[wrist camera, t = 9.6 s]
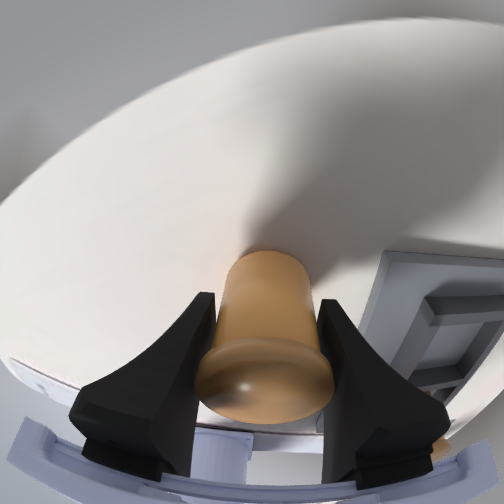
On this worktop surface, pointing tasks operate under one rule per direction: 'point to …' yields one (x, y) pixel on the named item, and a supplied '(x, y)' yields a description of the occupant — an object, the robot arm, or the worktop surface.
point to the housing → (434, 318)
